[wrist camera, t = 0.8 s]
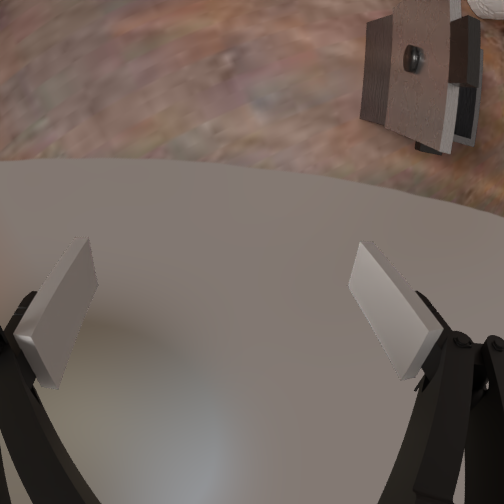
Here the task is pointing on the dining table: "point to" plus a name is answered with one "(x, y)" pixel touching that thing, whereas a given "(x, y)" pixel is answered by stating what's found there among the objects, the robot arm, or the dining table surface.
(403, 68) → the lid
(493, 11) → the white cup
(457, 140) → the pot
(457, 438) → the robot arm
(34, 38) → the dining table surface
